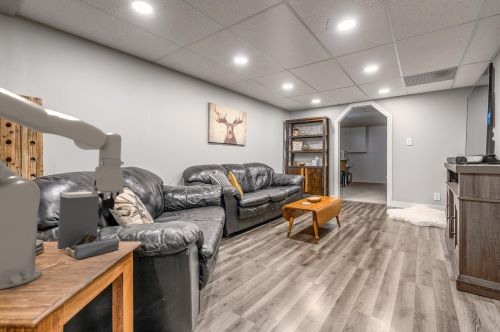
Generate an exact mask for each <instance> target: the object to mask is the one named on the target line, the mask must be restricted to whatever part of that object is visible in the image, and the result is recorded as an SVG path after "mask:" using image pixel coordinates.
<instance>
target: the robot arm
mask: <svg viewBox="0 0 500 332" xmlns="http://www.w3.org/2000/svg"><path fill="white" fill-rule="evenodd" d="M0 119H3V120H6V121H8V122H11V123H14V124H16V125H19V126H22V127H23V128H27V129H28V130H31V131H33V132H37V133H41V134H47V135H49V134H50V135H54V136H55V135H56V136H60V137H63V138H66V139H69V140H72V141H73V143H74V145H75V146H76V147H77V148H78V149H81V150H83V151H84V150H85V151H88V150H89V151H91V150H92V151H95V150H96V151H97V150H98V151H99V152H98V166H96V167H95V170H94V172H93V178H92V185H91V187H92V188H91V189H92V191H91V192H92V194H93V195H96V196H98V197H99V200H101V208H102V210H104V211H108V210H114V208H115V201H116V199H117V197H118V196H119V195H122V194H124V193H125V191H124V187H125V186H124V185H125V184H124V183H125V182H124V181H125V180H124V171H123V167H121V166H122V165H123V166H124V163H125V162H124V161H122V157H121V155H122V154H121V153H122V136H121V135H120V134H118V133H114V132H104V131H102V130H101V129H100V128H99V127H96V126H95V125H92V124H90V123H88V122H86V121H83V120H81V119H79V118H78V117H77V118H76V117H74V116H70V115H68V114H64V113H62V112H59V111H56V110H53V109H50V108H48V107H45V106H43V105H42V104H39V103H36V102H35V101H32V100H31V99H30V100H29V99H28V98H26V97H23V96H21V95H19V94H17V93H14V92H12V91H11V90H8V89H6V88H4V87H1V86H0ZM98 191H99V192H100V193H98ZM107 192H108V193H109V192H110V193H109V198H108V196H107ZM41 197H42V195H41V189H40V187H39V185H38V184H37V183H36V182H35V181H33V180H31V179H29V178H27V177H26V178H25V177H24V176H23V177H22V176H21V175H20V174H18V173H17V172H16V171H14V170H13V169H11V168H10V167H8V166H7V165H6V164H5V163H4V161H2V159H0V290H3V289H8V288H13V287H17V286H21V285H23V284H26V283H29V282H32V281H34V280H36V279H37V278H40V276H41V275H42V270H41V268H37V267H36V261H37V260H36V258H37V257H36V256H37V237H38V216H39V211H40V210H39V209H40V203H41Z"/></svg>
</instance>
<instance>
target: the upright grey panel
mask: <svg viewBox="0 0 500 332" xmlns="http://www.w3.org/2000/svg"><path fill="white" fill-rule="evenodd" d="M98 193H100V192H99V191H98ZM108 196H109V192H107V197H108ZM99 201H100V197H98V196H96V195H93V194H92V191H78V192H77V191H73V192H60V193H59V205H58V206H59V207H58V208H59V209H58V225H57V226H58V227H57V228H58V229H57V230H58V232H57V249H62V250H64V249H63V248H68V247H72V246H73V245H74V244H75V243H76V242H77V241H78V240H79V239H80V238H81V237H82V236H83V235H84V234H85V233H86V232H87V231H88V230H89V232H88V233H89V235H92V236H96V237H98V230H99V229H98V224H99Z"/></svg>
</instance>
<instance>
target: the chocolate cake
mask: <svg viewBox="0 0 500 332" xmlns="http://www.w3.org/2000/svg"><path fill="white" fill-rule="evenodd" d="M88 232H89V230H88V231H87V232H86V233H85V234H84V235H83V236H82V237H81V238H80V239H79V240H78V241H77V242H76V243H75V244H74V245H73V246H72V247H71V248H70V249H72V250H74V246H79V245H84V244H88V243H93V242H97V241H100V237H99V236H97V237H96V236H92V235H89V233H88Z"/></svg>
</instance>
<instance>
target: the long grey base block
mask: <svg viewBox="0 0 500 332" xmlns="http://www.w3.org/2000/svg"><path fill="white" fill-rule="evenodd" d="M119 244H120V239H118V238H115V237H112V238H107V239H102V240H99V241H97V242H93V243H88V244H84V245H79V246H74V250H72V249H70V248H65V249H64V252H65V254H66V255H69V256H70V257H72V258H75V259H76V260H81V259H85V258H90V257H94V256H97V255H101V254H104V253H108V252H112V250H113V251H116V250H115V249H117V250H119V249H118V248H120V246H119Z"/></svg>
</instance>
